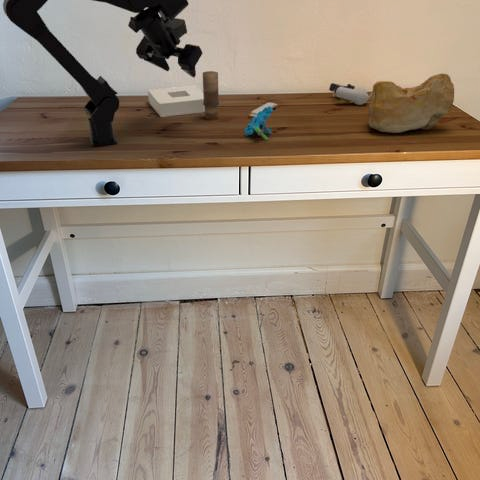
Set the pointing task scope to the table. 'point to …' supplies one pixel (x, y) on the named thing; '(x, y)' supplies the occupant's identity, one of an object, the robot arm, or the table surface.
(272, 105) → the harmonica
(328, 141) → the table surface
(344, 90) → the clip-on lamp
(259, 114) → the gear
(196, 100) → the white board
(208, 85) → the walnut peg
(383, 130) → the rough brown rock
